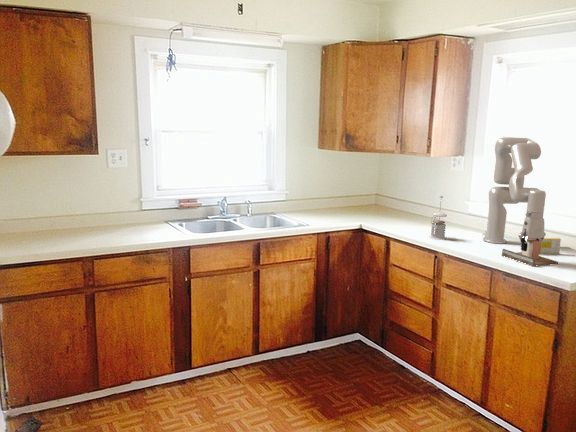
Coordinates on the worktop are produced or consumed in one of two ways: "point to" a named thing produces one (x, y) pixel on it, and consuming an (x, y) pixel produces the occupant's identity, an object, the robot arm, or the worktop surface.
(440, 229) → the french press
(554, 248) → the candy box
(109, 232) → the worktop surface
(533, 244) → the tea box
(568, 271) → the worktop surface
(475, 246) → the worktop surface
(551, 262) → the shelf board
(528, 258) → the rail
